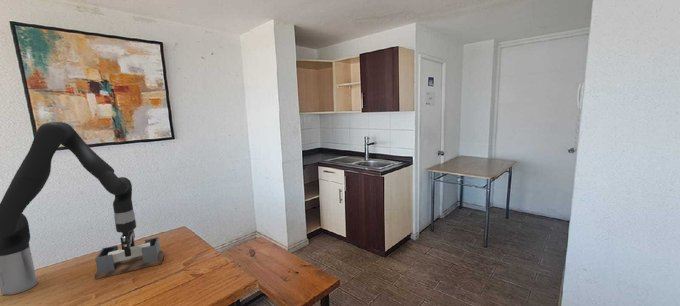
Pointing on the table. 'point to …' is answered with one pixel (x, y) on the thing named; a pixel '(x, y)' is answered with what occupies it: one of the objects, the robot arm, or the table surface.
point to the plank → (130, 265)
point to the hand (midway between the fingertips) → (130, 252)
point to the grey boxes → (107, 263)
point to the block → (135, 252)
